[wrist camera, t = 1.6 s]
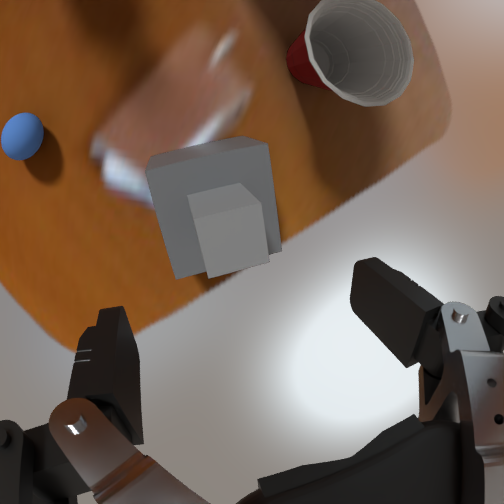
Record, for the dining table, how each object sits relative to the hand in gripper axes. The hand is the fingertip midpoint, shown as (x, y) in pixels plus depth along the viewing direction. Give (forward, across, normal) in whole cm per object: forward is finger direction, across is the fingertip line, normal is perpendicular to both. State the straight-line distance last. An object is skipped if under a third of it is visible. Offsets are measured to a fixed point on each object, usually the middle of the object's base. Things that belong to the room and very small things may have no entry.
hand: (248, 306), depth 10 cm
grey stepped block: (+25, -2, +2) cm, 26 cm away
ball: (+23, +17, -8) cm, 30 cm away
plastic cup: (+25, -15, -12) cm, 32 cm away
